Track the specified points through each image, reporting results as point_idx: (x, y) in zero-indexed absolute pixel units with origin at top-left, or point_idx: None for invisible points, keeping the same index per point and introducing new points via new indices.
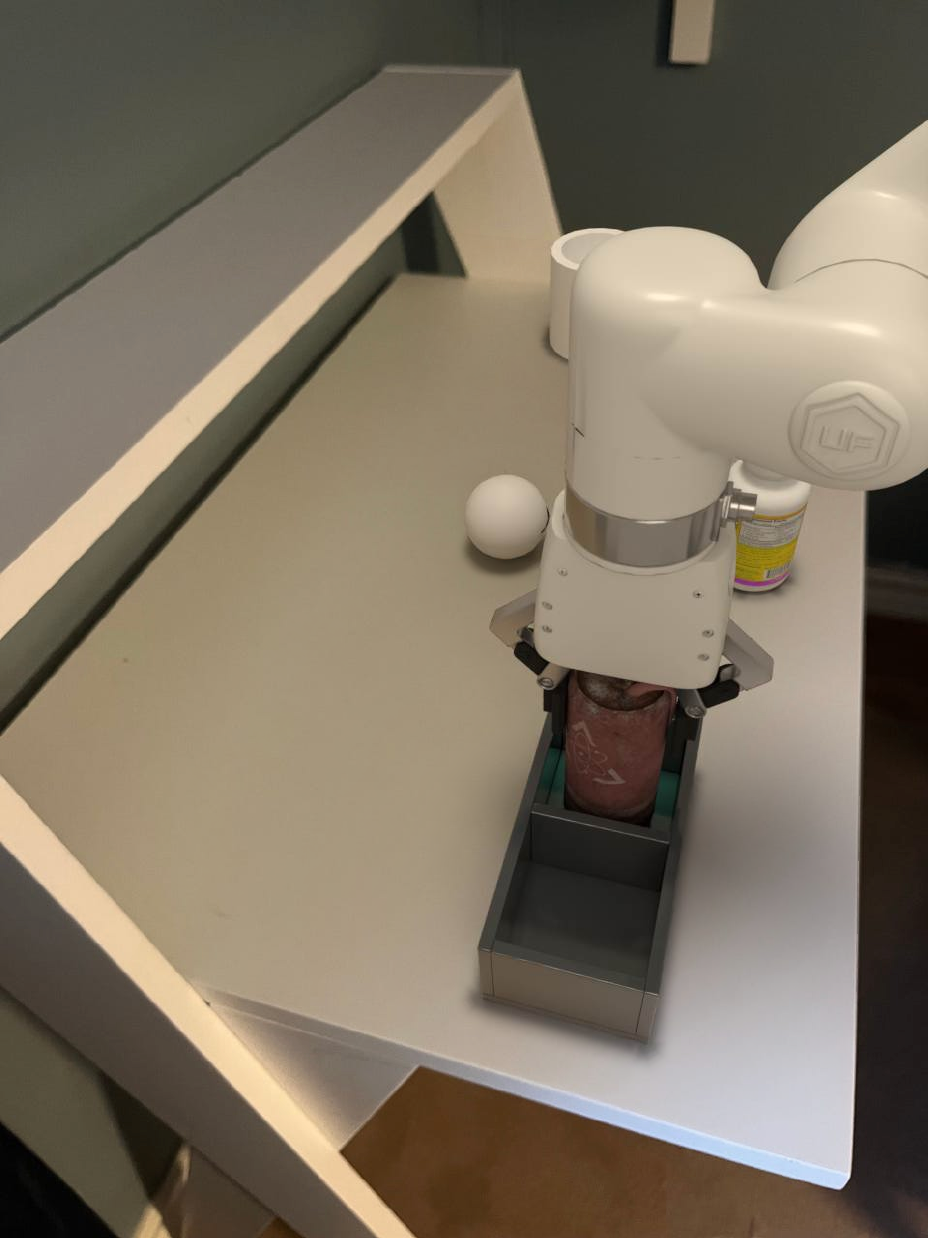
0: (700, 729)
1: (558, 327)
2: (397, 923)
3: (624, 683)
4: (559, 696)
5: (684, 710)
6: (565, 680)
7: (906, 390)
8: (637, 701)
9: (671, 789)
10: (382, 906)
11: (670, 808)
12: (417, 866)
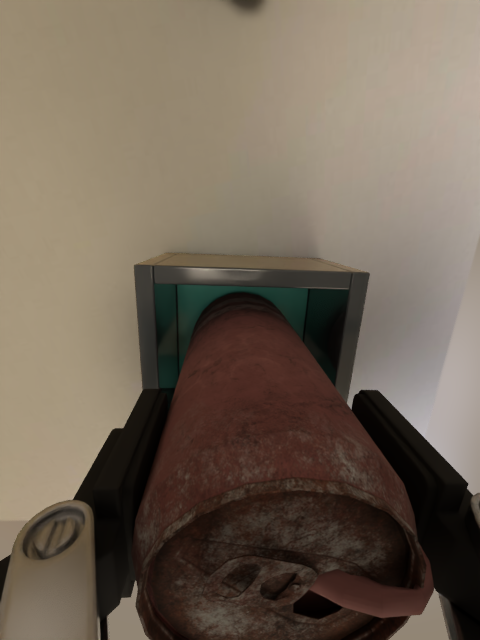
0: (364, 297)
1: None
2: (89, 457)
3: (292, 594)
4: (129, 594)
5: (441, 604)
6: (128, 549)
7: None
8: (329, 624)
9: (302, 294)
10: (70, 448)
11: (302, 316)
12: (82, 411)
